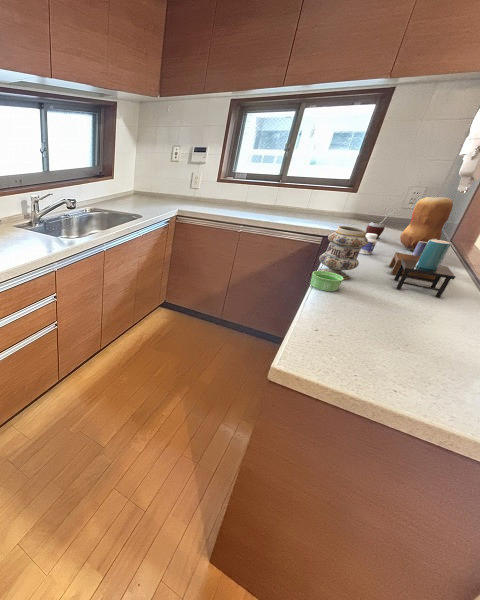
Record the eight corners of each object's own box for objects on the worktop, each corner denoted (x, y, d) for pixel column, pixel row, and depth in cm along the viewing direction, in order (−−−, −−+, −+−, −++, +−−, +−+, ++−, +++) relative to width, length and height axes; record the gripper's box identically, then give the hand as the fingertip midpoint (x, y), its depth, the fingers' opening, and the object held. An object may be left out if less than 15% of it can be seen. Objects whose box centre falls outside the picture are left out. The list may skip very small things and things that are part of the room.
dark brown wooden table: (435, 287, 116) (447, 266, 112) (442, 298, 107) (455, 276, 104) (392, 278, 122) (402, 258, 119) (394, 289, 114) (405, 267, 110)
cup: (436, 266, 112) (450, 241, 108) (438, 271, 108) (453, 244, 104) (414, 263, 114) (427, 238, 110) (416, 267, 111) (430, 241, 107)
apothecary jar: (359, 282, 119) (381, 234, 110) (323, 279, 120) (342, 231, 112) (341, 270, 129) (360, 225, 121) (309, 267, 131) (325, 223, 123)
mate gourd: (361, 235, 179) (373, 207, 173) (379, 237, 176) (391, 209, 170) (365, 238, 173) (377, 210, 167) (383, 240, 170) (396, 211, 164)
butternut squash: (396, 244, 164) (420, 193, 153) (432, 251, 156) (461, 197, 144) (393, 250, 155) (419, 196, 144) (432, 257, 147) (462, 200, 135)
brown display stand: (428, 273, 129) (435, 258, 126) (433, 282, 120) (441, 267, 117) (388, 266, 135) (395, 252, 132) (390, 274, 126) (398, 259, 124)
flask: (409, 261, 140) (421, 237, 135) (407, 260, 142) (419, 236, 138) (438, 266, 136) (452, 241, 131) (436, 264, 138) (449, 240, 133)
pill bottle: (370, 255, 147) (379, 236, 143) (356, 252, 150) (364, 234, 146) (371, 252, 151) (379, 234, 147) (357, 250, 154) (365, 232, 150)
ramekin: (307, 279, 119) (311, 268, 117) (336, 285, 116) (341, 273, 114) (309, 288, 112) (314, 277, 110) (341, 294, 109) (346, 282, 107)
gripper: (493, 143, 102) (473, 189, 106) (495, 153, 114) (477, 194, 119) (463, 145, 107) (445, 188, 111) (469, 154, 119) (452, 193, 123)
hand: (462, 191), depth 115 cm, fingers open, 8 cm apart
